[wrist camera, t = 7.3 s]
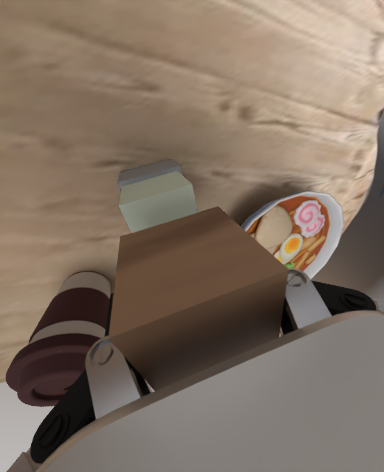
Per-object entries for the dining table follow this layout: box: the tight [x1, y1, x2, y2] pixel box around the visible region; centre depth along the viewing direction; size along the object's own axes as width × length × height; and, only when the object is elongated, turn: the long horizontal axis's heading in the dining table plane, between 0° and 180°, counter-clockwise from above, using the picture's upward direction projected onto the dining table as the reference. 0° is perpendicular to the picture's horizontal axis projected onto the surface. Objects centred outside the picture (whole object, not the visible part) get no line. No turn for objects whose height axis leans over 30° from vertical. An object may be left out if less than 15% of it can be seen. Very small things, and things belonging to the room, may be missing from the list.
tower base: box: [118, 159, 183, 190], centre depth 24 cm, size 7×7×6 cm
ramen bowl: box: [241, 191, 344, 279], centre depth 33 cm, size 25×23×8 cm
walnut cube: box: [108, 207, 289, 391], centre depth 10 cm, size 6×6×6 cm
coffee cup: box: [6, 272, 110, 407], centre depth 25 cm, size 10×10×15 cm
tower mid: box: [119, 171, 198, 233], centre depth 19 cm, size 6×6×6 cm
